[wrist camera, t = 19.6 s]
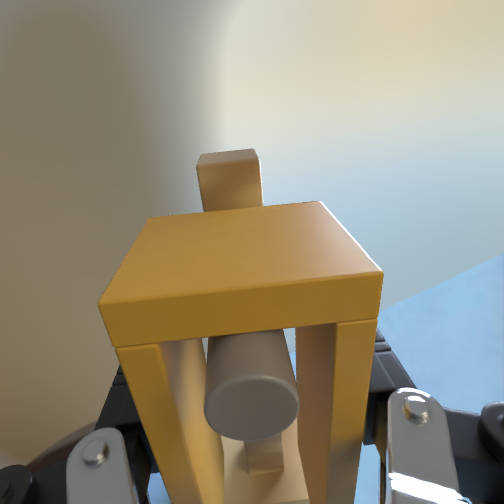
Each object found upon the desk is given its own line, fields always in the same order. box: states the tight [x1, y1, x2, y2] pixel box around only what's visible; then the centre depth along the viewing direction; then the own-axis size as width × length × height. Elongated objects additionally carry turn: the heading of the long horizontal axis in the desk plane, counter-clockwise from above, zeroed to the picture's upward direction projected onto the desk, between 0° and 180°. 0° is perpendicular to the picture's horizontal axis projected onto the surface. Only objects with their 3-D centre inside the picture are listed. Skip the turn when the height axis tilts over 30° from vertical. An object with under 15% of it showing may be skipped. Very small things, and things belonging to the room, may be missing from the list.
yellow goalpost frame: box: [98, 201, 384, 504], centre depth 9 cm, size 5×4×11 cm
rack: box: [196, 149, 310, 504], centre depth 12 cm, size 7×10×18 cm
